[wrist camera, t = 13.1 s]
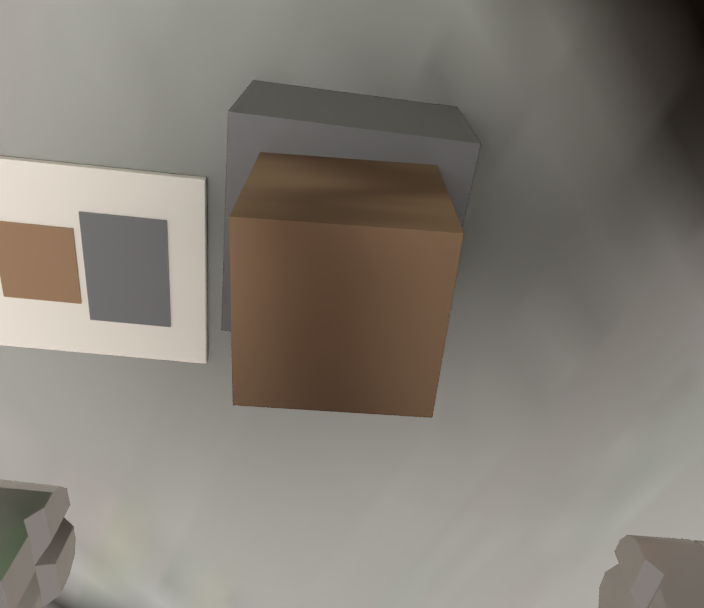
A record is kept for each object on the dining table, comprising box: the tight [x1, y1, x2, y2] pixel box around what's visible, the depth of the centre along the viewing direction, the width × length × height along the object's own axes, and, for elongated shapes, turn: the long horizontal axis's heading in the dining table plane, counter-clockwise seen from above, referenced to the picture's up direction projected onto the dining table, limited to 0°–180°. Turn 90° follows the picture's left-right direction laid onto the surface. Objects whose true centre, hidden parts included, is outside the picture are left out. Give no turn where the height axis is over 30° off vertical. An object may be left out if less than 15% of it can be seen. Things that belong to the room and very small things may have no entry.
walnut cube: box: [229, 152, 464, 418], centre depth 17 cm, size 5×5×5 cm
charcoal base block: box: [221, 80, 481, 331], centre depth 21 cm, size 7×7×5 cm
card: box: [0, 156, 207, 364], centre depth 25 cm, size 10×8×1 cm
